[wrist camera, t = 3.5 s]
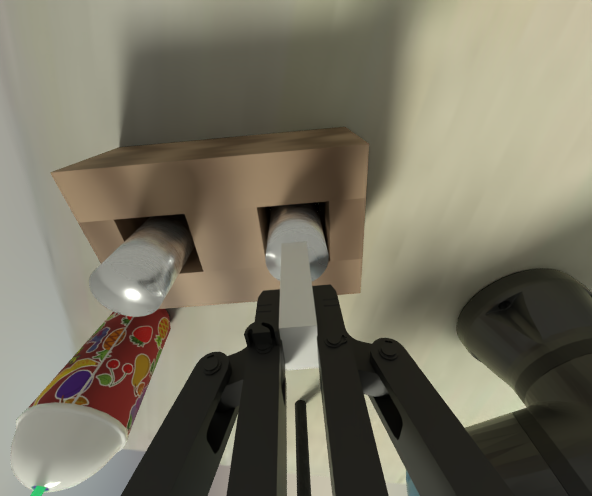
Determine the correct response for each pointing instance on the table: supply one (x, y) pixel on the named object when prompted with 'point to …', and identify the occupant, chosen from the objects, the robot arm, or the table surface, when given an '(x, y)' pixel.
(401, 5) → the table surface
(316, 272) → the peg
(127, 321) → the smoothie
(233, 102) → the table surface
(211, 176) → the block
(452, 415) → the robot arm
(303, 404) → the solar garden light
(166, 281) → the peg
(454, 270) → the table surface
